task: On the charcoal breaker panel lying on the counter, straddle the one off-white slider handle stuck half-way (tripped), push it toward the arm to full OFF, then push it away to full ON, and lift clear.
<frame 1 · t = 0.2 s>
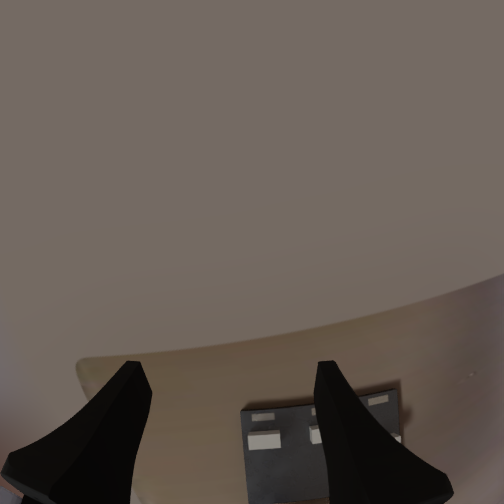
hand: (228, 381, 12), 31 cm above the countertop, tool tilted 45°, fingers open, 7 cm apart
breaker tripped: (384, 444, 32), point 3 cm above the countertop, slide at 0.0 cm
breaker panel: (323, 450, 35), on the countertop
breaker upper: (264, 439, 34), point 3 cm above the countertop, slide at 3.5 cm
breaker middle: (326, 432, 34), point 3 cm above the countertop, slide at 3.5 cm
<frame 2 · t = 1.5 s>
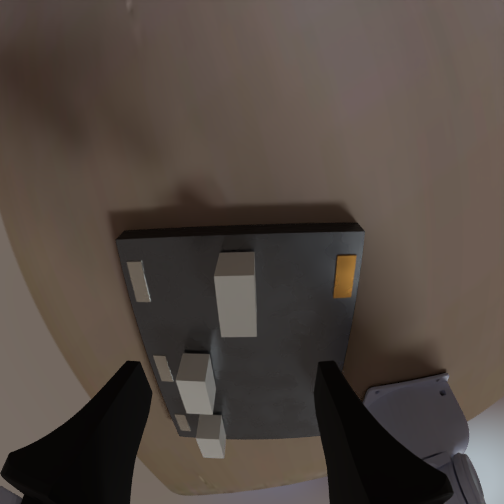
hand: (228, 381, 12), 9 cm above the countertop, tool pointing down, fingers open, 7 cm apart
breaker tripped: (237, 294, 17), point 3 cm above the countertop, slide at 0.0 cm
breaker panel: (246, 357, 24), on the countertop
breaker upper: (212, 437, 24), point 3 cm above the countertop, slide at 3.5 cm
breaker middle: (197, 384, 21), point 3 cm above the countertop, slide at 3.5 cm
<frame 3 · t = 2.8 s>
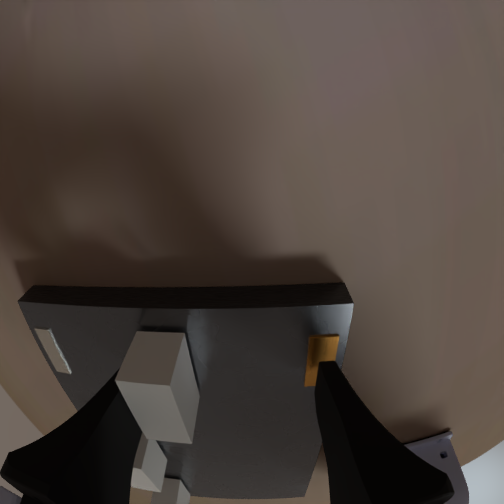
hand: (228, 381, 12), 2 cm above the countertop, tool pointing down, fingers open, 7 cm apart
breaker tripped: (163, 390, 11), point 3 cm above the countertop, slide at -0.1 cm, touching gripper
breaker panel: (201, 429, 17), on the countertop
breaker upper: (171, 499, 18), point 3 cm above the countertop, slide at 3.5 cm
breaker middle: (140, 461, 15), point 3 cm above the countertop, slide at 3.5 cm
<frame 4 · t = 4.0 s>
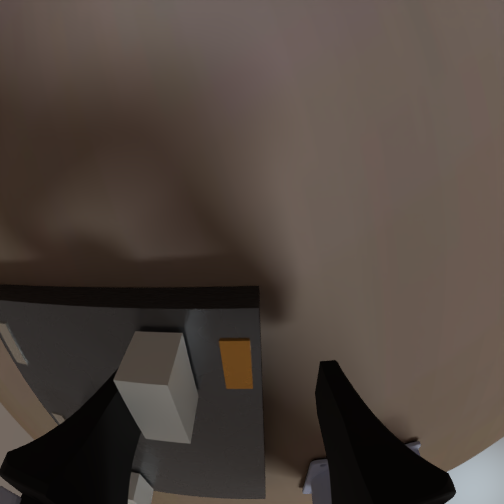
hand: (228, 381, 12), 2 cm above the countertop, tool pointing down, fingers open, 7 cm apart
breaker tripped: (162, 390, 11), point 3 cm above the countertop, slide at -3.5 cm, touching gripper
breaker panel: (150, 424, 17), on the countertop
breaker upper: (133, 492, 18), point 3 cm above the countertop, slide at 3.5 cm
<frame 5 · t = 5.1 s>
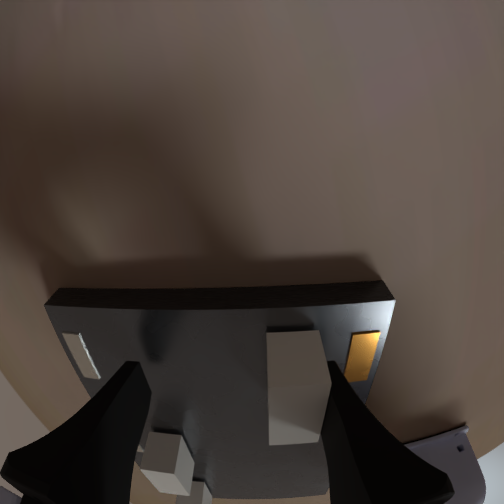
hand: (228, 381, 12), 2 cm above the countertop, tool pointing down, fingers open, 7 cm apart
breaker tripped: (293, 391, 11), point 3 cm above the countertop, slide at -3.4 cm, touching gripper
breaker panel: (230, 430, 17), on the countertop
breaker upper: (195, 502, 18), point 3 cm above the countertop, slide at 3.5 cm
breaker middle: (169, 466, 15), point 3 cm above the countertop, slide at 3.5 cm
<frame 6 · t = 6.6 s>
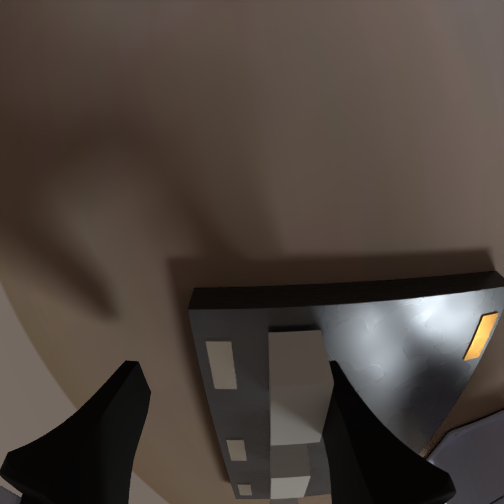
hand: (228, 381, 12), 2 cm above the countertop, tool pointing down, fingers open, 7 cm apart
breaker tripped: (295, 391, 11), point 3 cm above the countertop, slide at 3.5 cm, touching gripper
breaker panel: (338, 424, 17), on the countertop
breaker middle: (287, 469, 14), point 3 cm above the countertop, slide at 3.5 cm
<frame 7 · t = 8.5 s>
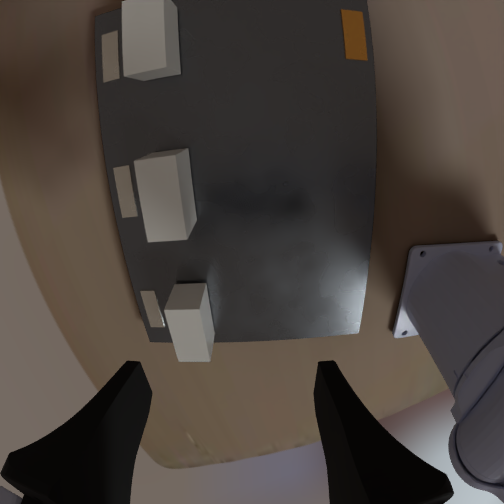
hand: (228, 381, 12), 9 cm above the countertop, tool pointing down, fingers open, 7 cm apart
breaker tripped: (152, 37, 11), point 3 cm above the countertop, slide at 3.5 cm
breaker panel: (240, 174, 17), on the countertop
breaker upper: (191, 323, 18), point 3 cm above the countertop, slide at 3.5 cm
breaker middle: (167, 193, 15), point 3 cm above the countertop, slide at 3.5 cm
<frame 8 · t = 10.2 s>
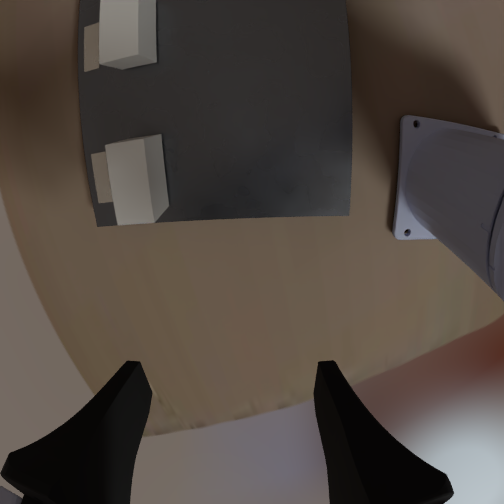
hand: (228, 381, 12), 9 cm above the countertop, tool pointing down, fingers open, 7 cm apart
breaker panel: (207, 29, 14), on the countertop
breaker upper: (139, 177, 14), point 3 cm above the countertop, slide at 3.5 cm
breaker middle: (128, 27, 11), point 3 cm above the countertop, slide at 3.5 cm
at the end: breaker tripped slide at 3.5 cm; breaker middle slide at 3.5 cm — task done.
